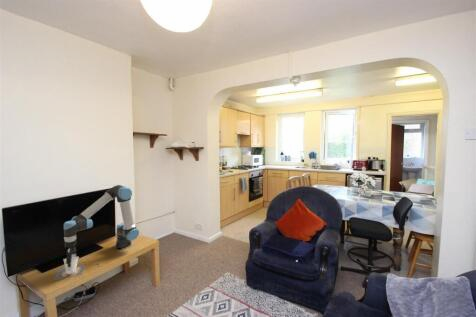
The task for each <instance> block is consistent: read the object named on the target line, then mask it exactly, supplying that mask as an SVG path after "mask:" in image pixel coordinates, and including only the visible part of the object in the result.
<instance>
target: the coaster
mask: <svg viewBox="0 0 476 317" xmlns="http://www.w3.org/2000/svg"><path fill="white" fill-rule="evenodd" d="M79 272H81V268H80V267H76V272H74V273H72V274H66V270H65V271H63V272H62V274H61V275H62V276H63V277H67V278H70V276H72V277H75V276H74V275H76V274H78V273H79Z"/></svg>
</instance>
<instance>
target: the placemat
mask: <svg viewBox="0 0 476 317" xmlns="http://www.w3.org/2000/svg"><path fill="white" fill-rule="evenodd" d="M77 267H80V268H81V272H79V273H78V274H76V275H74V276H70V277H71V278H72V277H76V276H81V275H83V272H84V269H85V267H86V264H81V265H77ZM63 271H65V267H63V268H59V269H58V271H57V273H56V275H55V276H54V278H53V281H56V280H61V279H65V278H68V277H63V276H62V275H61V274H62V272H63ZM70 277H69V278H70Z"/></svg>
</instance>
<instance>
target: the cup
mask: <svg viewBox="0 0 476 317" xmlns="http://www.w3.org/2000/svg"><path fill="white" fill-rule="evenodd" d="M79 258H80V257H79V256H78V255H76V257H72V258H71V262H72V270H70V271H68V269H67V264H66V259H67V257H66V258H63V263H64V268H65V270H66V274H72V273H74V272H76V267H77V266H78V262H79Z"/></svg>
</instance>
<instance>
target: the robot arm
mask: <svg viewBox="0 0 476 317" xmlns="http://www.w3.org/2000/svg"><path fill="white" fill-rule="evenodd" d="M132 196H133V190H132V189H131V188H130V187H129V186H125V185H120V184H116V185H114V186H112V187H111V188H109V189H108V190H106V191H105V192H104V194H103V195H102V196H101V197H100V198H98V199H97V200H96V201H95V202H93V203H92V204H91V205H90V206H88V207H87V208H86V209H85V210H83V211H82V212H81V213H79V215H75V216H73V217H72V218H71V220H67V221H65V222H64V223H63V234H64V235H63V236H64V237H63V239H64V248H67V249H66V258H67V259H66V258H65V259H66V264H67V269H68V271H70V270H72V262H71V258H72V257H76V256H77V248H76V246H77V232H81V231H84V230H88V229H91V228H93V226H94V222H93V220H92V219H91V217H92V216H94V215H95V214H96V213H97V212H98V211H100V210H101V209H102V208H103V207H104V206H105V205H106V204H108V203H109V202H111V201H113V200H114V199H115V198H116V201H117V203H119V206H120V207H119V208H120V212H121V217H122V223H119V224H117V225H116V240H115V243H114V248H115V247H116V248H125V249H127V248H126V247H128V246H130V245H131V244H133V243H132V242H133V241H135V240H136V239H138V236H139V235H140V230H139V229H138V228H137V225H136V223H135V222H134V217H133V212H132V206H131V199H132ZM131 246H132V245H131ZM131 246H130V247H131ZM116 248H115V249H116ZM128 248H129V247H128Z"/></svg>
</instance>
